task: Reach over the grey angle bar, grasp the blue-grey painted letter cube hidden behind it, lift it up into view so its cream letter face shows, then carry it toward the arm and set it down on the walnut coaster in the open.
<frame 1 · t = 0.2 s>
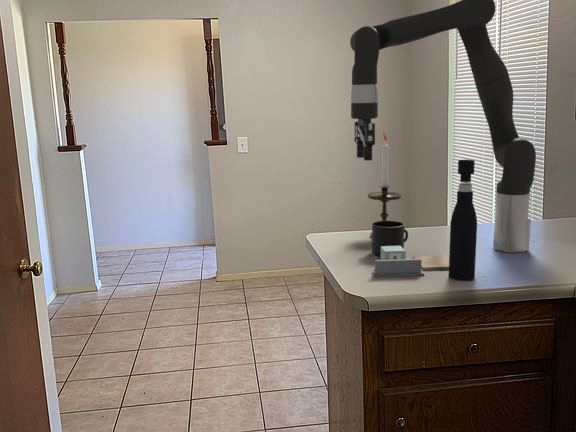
hand: (364, 158, 162), 28 cm above the countertop, fingers open, 8 cm apart
grey angle bar: (397, 274, 148), on the countertop
letter cube: (392, 267, 154), on the countertop
wine bottle: (461, 277, 145), on the countertop
mug: (391, 253, 169), on the countertop
coaster: (437, 263, 156), on the countertop
candlestick: (384, 237, 188), on the countertop
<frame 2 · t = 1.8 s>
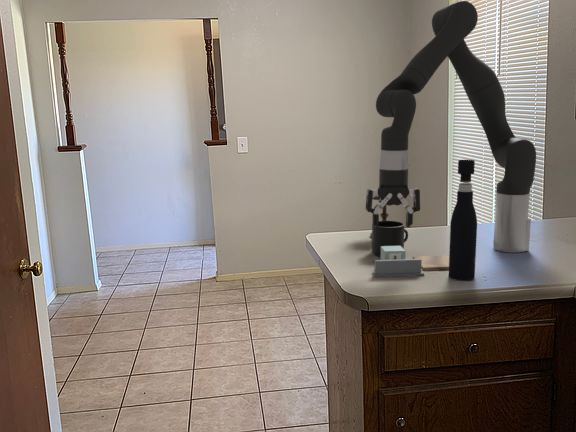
hand: (392, 227, 152), 11 cm above the countertop, fingers open, 8 cm apart
nothing on the countertop moved.
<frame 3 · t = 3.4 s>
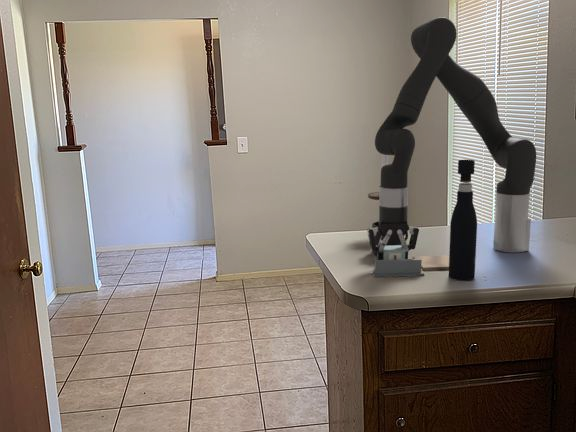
hand: (392, 264, 154), 1 cm above the countertop, fingers closed on letter cube, 5 cm apart
letter cube: (392, 267, 154), on the countertop, touching gripper
everything else where it was.
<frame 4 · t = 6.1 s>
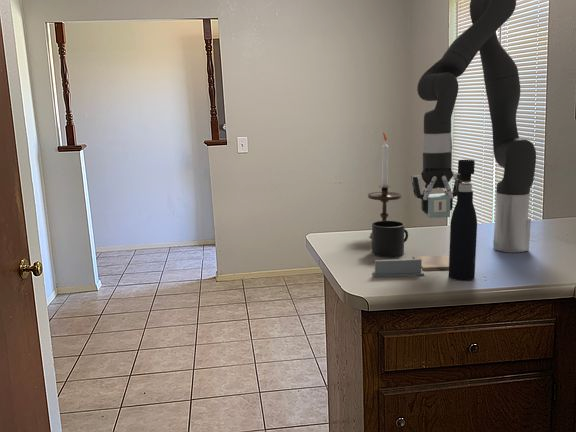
hand: (436, 212, 153), 15 cm above the countertop, fingers closed on letter cube, 5 cm apart
letter cube: (436, 215, 153), point 14 cm above the countertop, touching gripper
everything else where it was.
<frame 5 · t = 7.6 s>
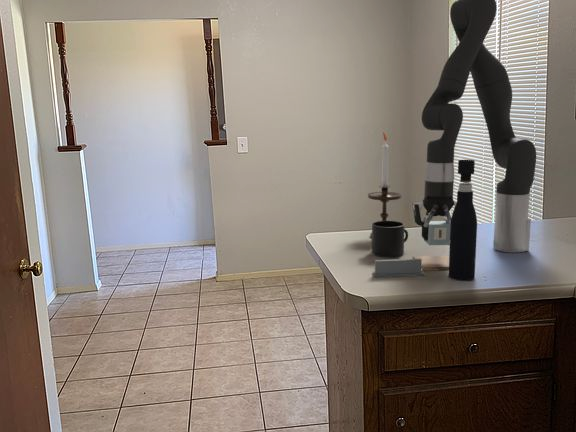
hand: (436, 239, 155), 7 cm above the countertop, fingers closed on letter cube, 5 cm apart
letter cube: (436, 242, 155), point 6 cm above the countertop, touching gripper
everything else where it was.
when the fingers open (2 cm above the countertop, at t = 8.9 s): letter cube stays where it is, resting on coaster.
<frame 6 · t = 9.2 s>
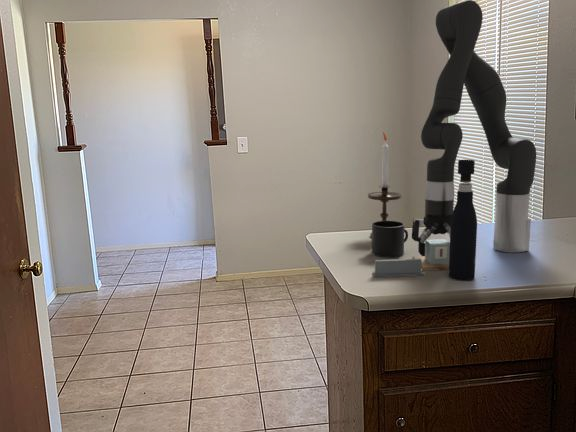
hand: (437, 255, 156), 3 cm above the countertop, fingers open, 8 cm apart
letter cube: (437, 261, 156), point 1 cm above the countertop, touching coaster
everything else where it was.
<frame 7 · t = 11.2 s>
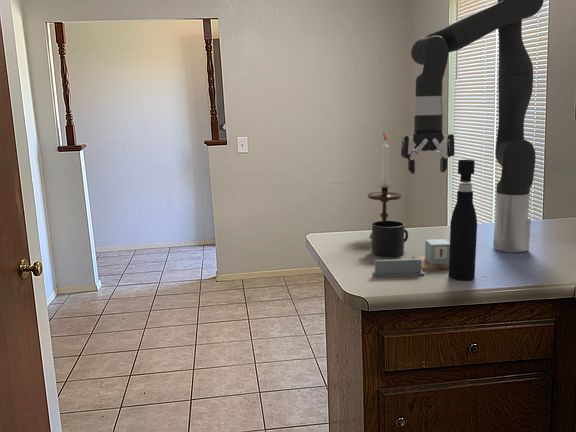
hand: (427, 172, 156), 25 cm above the countertop, fingers open, 8 cm apart
nothing on the countertop moved.
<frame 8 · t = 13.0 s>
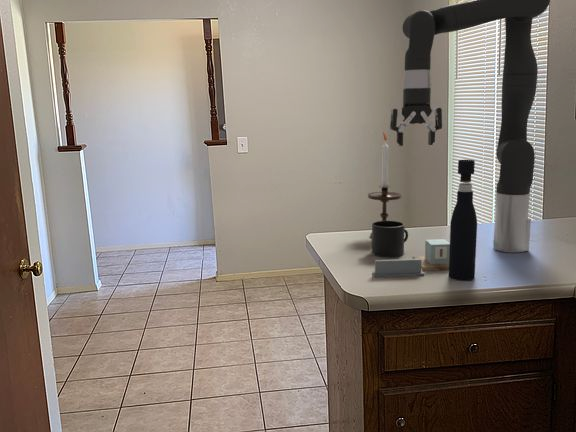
hand: (415, 145, 161), 32 cm above the countertop, fingers open, 8 cm apart
nothing on the countertop moved.
at the end: letter cube inside the target area (0.0 cm from its centre), point 0.8 cm above the countertop; the gripper is holding nothing; letter cube moved 13.2 cm from its start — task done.
